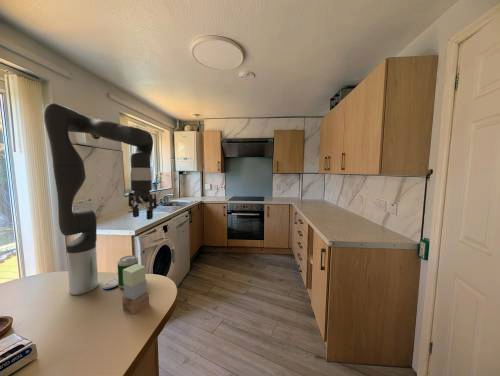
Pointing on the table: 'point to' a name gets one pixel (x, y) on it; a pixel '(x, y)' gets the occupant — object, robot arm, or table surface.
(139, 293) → the slate cube
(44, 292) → the table surface
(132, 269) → the sage cube
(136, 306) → the walnut block
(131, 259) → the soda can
